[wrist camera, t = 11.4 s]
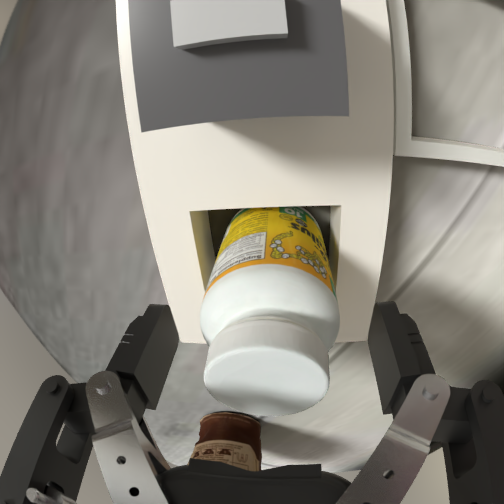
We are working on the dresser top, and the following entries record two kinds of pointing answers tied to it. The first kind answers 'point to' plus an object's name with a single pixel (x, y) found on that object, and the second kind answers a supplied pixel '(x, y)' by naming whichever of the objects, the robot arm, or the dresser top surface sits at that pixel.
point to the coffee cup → (230, 440)
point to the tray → (403, 106)
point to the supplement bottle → (270, 313)
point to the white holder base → (260, 132)
